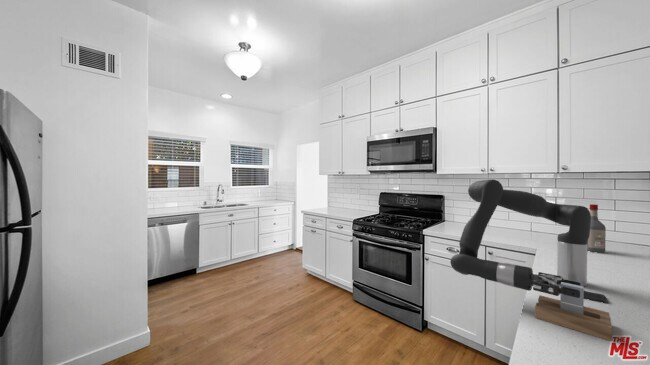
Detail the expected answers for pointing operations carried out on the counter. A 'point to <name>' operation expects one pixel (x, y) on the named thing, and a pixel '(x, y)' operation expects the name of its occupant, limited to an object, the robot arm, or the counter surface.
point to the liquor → (596, 232)
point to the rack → (575, 318)
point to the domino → (572, 299)
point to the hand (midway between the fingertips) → (580, 290)
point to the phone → (595, 297)
